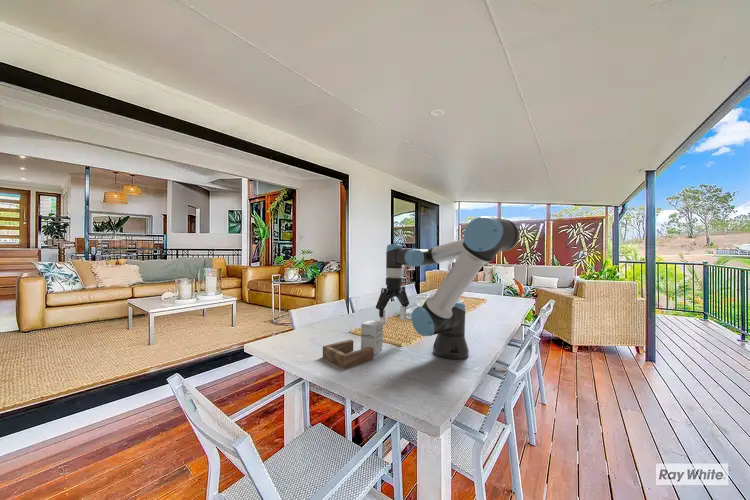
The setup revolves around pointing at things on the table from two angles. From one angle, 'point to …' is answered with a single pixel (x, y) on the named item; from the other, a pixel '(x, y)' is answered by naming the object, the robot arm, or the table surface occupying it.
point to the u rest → (339, 357)
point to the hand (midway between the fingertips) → (392, 321)
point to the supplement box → (372, 335)
